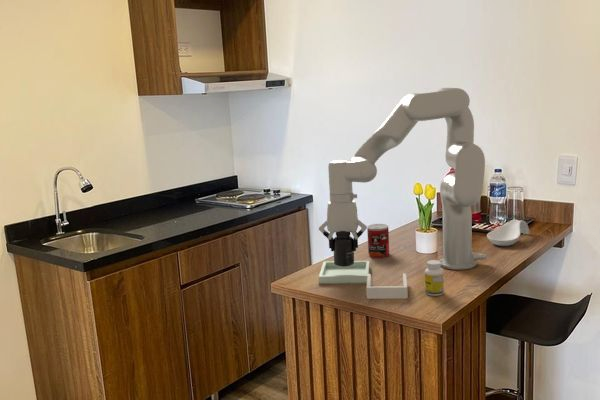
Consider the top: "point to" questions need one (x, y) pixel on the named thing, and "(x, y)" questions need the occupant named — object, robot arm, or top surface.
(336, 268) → the tray
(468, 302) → the top surface
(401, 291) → the bay
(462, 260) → the robot arm
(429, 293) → the supplement bottle
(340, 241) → the supplement bottle
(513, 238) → the spoon rest
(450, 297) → the top surface
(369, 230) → the canned food
